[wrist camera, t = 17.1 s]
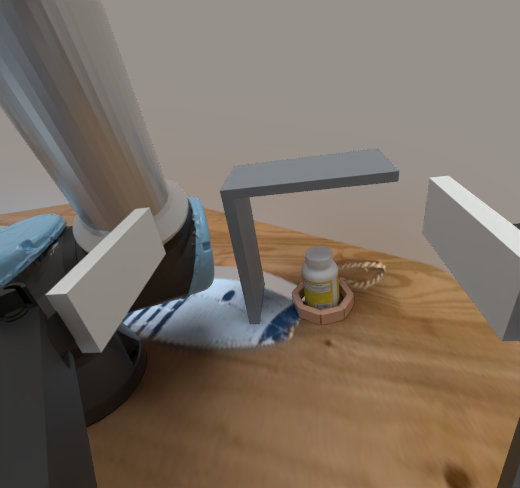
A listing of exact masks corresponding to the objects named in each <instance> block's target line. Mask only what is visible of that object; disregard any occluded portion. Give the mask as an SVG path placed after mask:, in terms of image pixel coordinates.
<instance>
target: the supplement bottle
mask: <svg viewBox="0 0 520 488" xmlns="http://www.w3.org/2000/svg"><path fill="white" fill-rule="evenodd" d="M305 261H306V263H305V264H304V265H303V267H302V277H303V285H304V294H305V302H306V305H307V306H310V307H313V308H316V309H318V310H324V309H328V308H332V307H337V306H339V275H338V266H337V264H336V263H335V262H334V261H333V253H332V250H331V249H330V248H328V247H324V246H315V247H312V248H309V249H308V250H307V251H306V252H305Z"/></svg>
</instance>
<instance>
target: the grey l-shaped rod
mask: <svg viewBox="0 0 520 488" xmlns="http://www.w3.org/2000/svg"><path fill="white" fill-rule="evenodd" d="M398 179H399V170H397V168H396V167H395V166H394V165H393V164H392V163H391V162H390V161H389V160H388V159H387V158H386V157H385V155H384V154H383V153H382V152H381V151H380V150H379V149H378V148H377V149H369V150H361V151H353V152H346V153H338V154H337V153H336V154H328V155H320V156H312V157H304V158H296V159H287V160H280V161H271V162H263V163H255V164H248V165H239V166H233V168H232V170H231V172H230V174H229V175H228V177H227V179H226V181H225V183H224V184H223V186H222V188H221V190H220V193H221V198H222V202H223V207H224V211H225V215H226V220H227V224H228V229H229V233H230V238H231V242H232V246H233V251H234V255H235V260H236V264H237V268H238V273H239V277H240V282H241V286H242V291H243V295H244V299H245V304H246V308H247V313H248V317H249V322H250V324H260V316H261V308H262V300H263V293H264V285H265V283H264V277H263V272H262V266H261V260H260V255H259V249H258V244H257V238H256V232H255V227H254V221H253V215H252V210H251V205H250V198H249V197H254V196H265V195H274V194H283V193H293V192H303V191H312V190H322V189H330V188H340V187H350V186H359V185H368V184H378V183H388V182H397V181H398Z"/></svg>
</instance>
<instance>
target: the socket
mask: <svg viewBox="0 0 520 488" xmlns="http://www.w3.org/2000/svg"><path fill="white" fill-rule="evenodd" d="M339 293H340V294H341V295H342V297H343V299H344V300H343V301H342V303H341V304H340V306H337V307H332V308H328V309H324V310H318V309H316V308H313V307H310V306H307V305H304V304H303V302H302V298H303V297H304V296H305V294H304V285H303V280H302V281H301V282H300V284H299V285H298V286H297V287H296V288H295V289H294V291H293V292H292V298H293V304H294V306H295V309H296V311H297V314H298V316H300V318H302V319H305V320H308V321H310V322H313V323H316V324H319V325H320V324H322V325H325V324H329V323H333V322H337V321H341V320H344V319H346V317H347V315H348V314H349V312H350V310H351V309H352V307H353V305H354V294H353V292H352V291H351V289H350V288H349V286H348V285H347V284H346V282H345V281H344V280H340V279H339Z"/></svg>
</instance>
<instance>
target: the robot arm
mask: <svg viewBox="0 0 520 488" xmlns="http://www.w3.org/2000/svg"><path fill="white" fill-rule="evenodd" d="M0 107H1V108H2V110H3V111H4V112H5V114H6V115H7V117H8V118H9V119H10V121H11V122H12V124H13V125H14V126H15V128H16V129H17V131H18V132H19V133H20V135H21V136H22V137H23V139H24V140H25V142H26V143H27V144H28V146H29V147H30V149H31V150H32V151H33V153H34V154H35V156H36V157H37V158H38V160H39V161H40V162H41V164H42V165H43V167H44V168H45V169H46V171H47V172H48V174H49V175H50V176H51V178H52V179H53V180H54V182H55V183H56V185H57V186H58V187H59V189H60V190H61V192H62V193H63V194H64V196H65V197H66V199H67V200H68V201H69V203H70V204H71V206H72V207H73V208H74V210H75V211H76V213H77V214H76V216H75V219H74V222H73V226H66V225H67V223H66V220H64V219H63V218H62V217H61V216H59V215H58V214H53V213H52V214H43V215H38V216H35V217H31V218H28V219H25V220H23V221H20V222H18V223H15V224H13V225H10V226H8V227H6V228H4V229H2V230H0V488H97V484H96V478H95V473H94V467H93V462H92V456H91V451H90V445H89V440H88V434H87V429H86V426H88V425H90V424H92V423H94V422H96V421H98V420H100V419H102V418H103V417H105V416H106V415H108V414H109V413H111V412H112V411H113V410H115V409H116V408H117V407H118V406H119V405H120V404H121V403H123V402H124V401H125V400H126V399H127V397H128V396H129V395H130V394H131V393H132V392H133V390H134V389H135V388H136V386H137V385H138V383H139V381H140V380H141V378H142V376H143V373H144V371H145V367H146V362H147V355H146V351H145V348H144V346H143V344H142V342H141V340H140V338H139V337H138V336H137V334H136V333H135V332H133V331H132V330H131V329H130V328H128V327H127V326H126V325H125V324H123V323H122V320H123V319H124V317H125V316H126V314H127V313H130V312H133V311H137V310H140V309H144V308H148V307H151V306H155V305H159V304H163V303H166V302H170V301H174V300H178V299H181V298H182V299H184V298H188V297H189V296H190V295H192V294H195V293H198V292H201V291H204V290H206V289H208V288H209V287H210V286H211V285H212V283H213V280H214V261H213V253H212V248H211V245H210V243H211V242H210V234H209V229H208V224H207V219H206V215H205V212H204V208H203V205H202V203H201V201H200V200H199V199H198V198H195V197H194V198H190V197H186V195H185V193H184V191H183V190H182V188H181V187H180V186H178V185H177V184H176V183H174V182H173V181H171V180H168V179H166V178H165V177H164V175H163V172H162V169H161V166H160V163H159V161H158V158H157V155H156V152H155V149H154V147H153V144H152V141H151V139H150V135H149V133H148V130H147V127H146V124H145V122H144V119H143V116H142V113H141V110H140V107H139V105H138V102H137V99H136V96H135V94H134V91H133V88H132V85H131V82H130V79H129V77H128V74H127V71H126V68H125V65H124V63H123V60H122V57H121V54H120V51H119V49H118V46H117V43H116V40H115V37H114V35H113V32H112V29H111V26H110V24H109V21H108V18H107V15H106V13H105V9H104V7H103V4H102V1H101V0H0ZM422 233H423V235H424V236H425V237H426V239H427V240H428V241H429V243H430V244H431V246H432V247H433V248H434V250H435V251H436V252H437V254H438V255H439V256H440V258H441V259H442V261H443V262H444V263H445V265H446V266H447V267H448V269H449V270H450V271H451V273H452V274H453V275H454V277H455V278H456V280H457V281H458V282H459V284H460V285H461V286H462V288H463V289H464V290H465V292H466V293H467V294H468V296H469V297H470V299H471V300H472V301H473V303H474V304H475V305H476V307H477V308H478V309H479V311H480V312H481V314H482V315H483V316H484V318H485V319H486V320H487V322H488V323H489V324H490V326H491V327H492V328H493V330H494V331H495V333H496V334H497V335H498V337H499V338H500V339H501V341H520V223H519V224H511V223H510V222H508V221H507V220H506V219H505V218H503V217H502V216H501V215H499V214H498V213H497V212H495V211H494V210H493V209H491V208H490V207H489V206H488V205H486V204H485V203H484V202H482V201H481V200H479V199H478V198H477V197H476V196H474V195H473V194H472V193H470V192H469V191H468V190H466V189H465V188H464V187H462V186H461V185H460V184H459V183H457V182H456V181H455V180H453V179H452V178H451V177H449V176H443V177H434V178H429V185H428V194H427V201H426V208H425V216H424V223H423V232H422ZM497 488H520V418H519V421H518V424H517V427H516V430H515V433H514V436H513V440H512V443H511V446H510V449H509V452H508V455H507V458H506V461H505V464H504V467H503V470H502V474H501V477H500V480H499V483H498V486H497Z"/></svg>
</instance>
